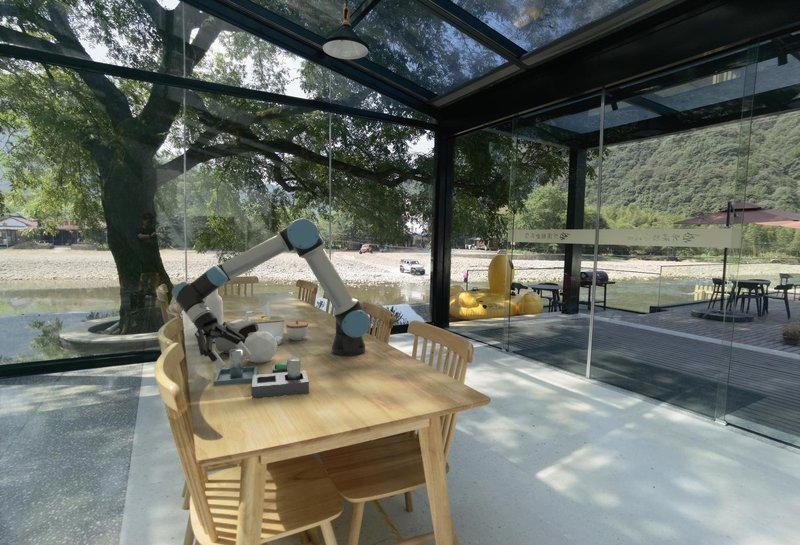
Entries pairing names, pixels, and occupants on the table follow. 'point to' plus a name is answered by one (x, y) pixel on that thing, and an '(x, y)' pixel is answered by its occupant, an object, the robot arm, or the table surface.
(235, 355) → the loose billet
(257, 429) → the table surface
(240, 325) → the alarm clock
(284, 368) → the button housing
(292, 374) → the cylinder
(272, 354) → the geodesic sphere
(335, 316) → the robot arm
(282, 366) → the button
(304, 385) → the block
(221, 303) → the bottle
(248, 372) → the tray
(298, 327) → the lidded jar
